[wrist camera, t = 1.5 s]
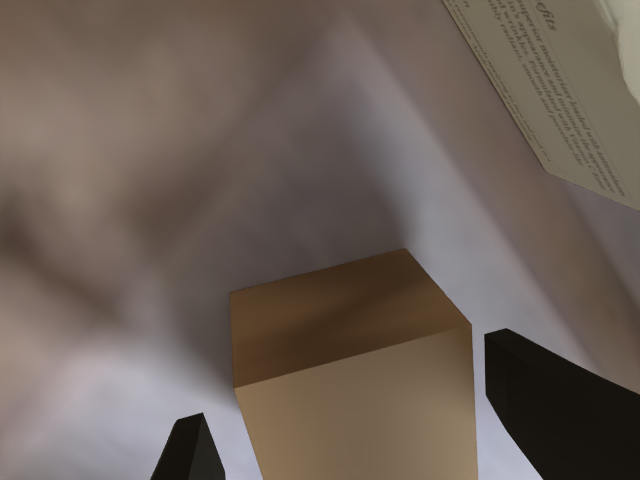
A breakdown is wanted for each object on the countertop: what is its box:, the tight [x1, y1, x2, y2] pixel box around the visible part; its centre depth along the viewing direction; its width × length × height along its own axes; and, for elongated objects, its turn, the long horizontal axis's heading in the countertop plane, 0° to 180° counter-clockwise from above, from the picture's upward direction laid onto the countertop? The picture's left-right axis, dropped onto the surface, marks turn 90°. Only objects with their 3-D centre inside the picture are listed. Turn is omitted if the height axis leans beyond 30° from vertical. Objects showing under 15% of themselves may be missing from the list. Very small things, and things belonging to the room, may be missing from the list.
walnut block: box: [230, 248, 478, 480], centre depth 12 cm, size 5×5×4 cm
